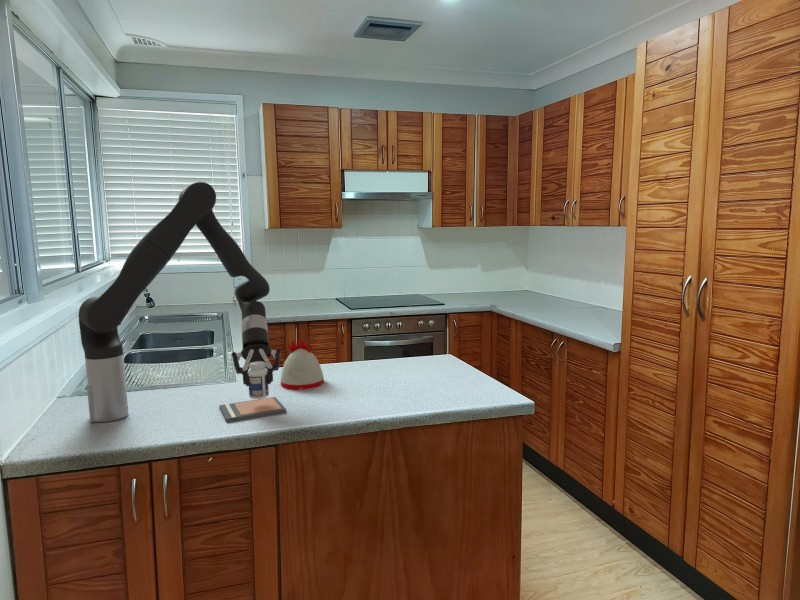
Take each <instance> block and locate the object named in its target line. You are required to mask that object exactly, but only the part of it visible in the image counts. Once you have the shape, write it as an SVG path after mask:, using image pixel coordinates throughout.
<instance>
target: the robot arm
mask: <svg viewBox="0 0 800 600" xmlns="http://www.w3.org/2000/svg"><path fill="white" fill-rule="evenodd" d="M216 194H217V193H216V191H215V189H214V187H213V186H212V185H210V183H207V182H205V181H195V182H192V183H189V184H187V186H186V187H184V188H183V189H182V190H181V191H180V193H179V195H178V200H177V202H176V204H175V205H174V207H173V208H172V209H171V211H169V213H168V214H167V215H166V216H165V217H164V218H162V219H161V220H160V221H159V222H157V224H155V225H154V226H153V227H152V228H150V230H149V231H148V232H147V233H146V234H144V236H143V237H142V238H141V239H140V240H139V241H138V243H137V244H136V245H135V247H133V249H132V250H131V252H130V253H129V254H128V256H127V258H126V260H125V262H124V263H123V265H122V268H121V270H120V272H119V274H118V276H117V278H115V280H114V282H112V284H111V285H110V286H109V287H108V288H107V289H106V290H104V292H103V293H102V294H101V295H100V296H99V295H98V296H97V295H96V296H91V297H88V298H87V299H85V300H84V301H83V302H82V304H80V306H79V310H78V323H79V324H78V325H79V332H80V334H79V335H80V340H81V341H80V343H81V345H82V348H83V352H84V361H85V370H86V371H85V372H86V382H87V383H86V384H87V388H86V392H87V402H88V413H89V422H90V423H106V422H107V423H108V422H115V421H117V420H120V419H123V418H126V417H127V416H129V405H128V404H129V403H128V392H127V381H126V369H125V360H124V347H123V343H122V341H121V339H120V336H119V330H118V327H119V326H120V325H121V324H122V322H123V320H124V319H125V318H126V316H127V315H128V313H129V312H130V311H131V308H133V306H134V304H135V302H136V300H138V298H139V297H140V296H141V294H142V293H143V292H144V291H145V290H146V289H147V287H148V286H150V284H151V283H152V282H153V280H154V279H156V277H157V276H158V275H159V273H161V271H162V270H163V269H164V268H165V267H166V265H167V264H168V263H169V262H170V261H171V259H172V258H173V257H174V255H175V254H176V253H177V251H178V250H179V248H180V247H181V245H182V244H183V243H184V241H185V239H186V238H187V236H188V235H189V233H190V232H191V231H192V230H193V229H194V227H195V226H196V227H197V228H198V230H199V231H200V233H201V234H202V235H203V236H204V238H205V240H207V242H208V243H209V245H210V247H211V248H212V249H213V251H214V252H215V254H216V255H217V257H218V259H219V261H220V263H221V264H222V266H223V267H224V269H225V271H226V272H227V274H228V275H229V277H231V278H237V277H238V278H239V277H245V278H246V279H247V280H244V281H243V282H241V283H239V284H238V285H237V286H235V289H234V295H235V298H236V301H237V303H238V306H239V308H240V311H241V340H242V341H241V343H242V345H241V346H242V350H241V351H240V352H235V351H234V352H231V360H232V363H233V366H234V370H235V374H237V375H240V374H241V375H242V383H243V385H244V386H246V387H249V385H248V372H249V371H250V370H251V369H250V363H251V362H256V361H263V362H264V364H265V367H264V369H266V370H267V373H268V385H271V384H272V383H273V382H274V374H273V373H274V372H275V371H276V372H277V371H278V370H279V368H280V361H281V360H280V359H281V355H282V354H281V351H282V349H280V348H276V349H272V348H271V347H270V340H269V339H270V338H269V328H268V322H267V316H266V314H267V312H266V307H265V305H264V304H263V303H262V302H261V301H259V300H261V299H263V298H266V297H267V296H268V295H269V293H270V284H269V283H268V280H267V279H266V278H265V277H264V276H263V275H262V274H261V273H260V272H258V271H257V270H256V268H254V266H252V264H251V263H250V262H249V260H248V259H247V257H246V255H245V254H244V251H242V249H241V247H240V245H238V243H237V241H235V240H234V238H233V237H232V236H231V235H230V234H229V233H228V231H227V230H226V229H225V228H224V227H223V226H222V224H221V223H220V222H219V220H218V219H217V217H216V215H215V213H214V211H213V209H214V207H215V205H216V203H217V195H216ZM270 356H272V357H273V358H274V364H271V362H270V359H269V358H270ZM241 358H242V359H244V360H245V361H244V364H243V367H241V366H240V363H239V361H240V360H241Z"/></svg>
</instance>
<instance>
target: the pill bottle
mask: <svg viewBox="0 0 800 600" xmlns="http://www.w3.org/2000/svg"><path fill="white" fill-rule="evenodd" d="M248 385H249V386H248V393H249V394H248V396H249V398H251V400H258V399H265V398H268V396H270V395H269V390H270V389H269V384H268V373H267V369H266V368H265V364H264V362H263V361H256V362H251V363H250V369H249V371H248Z"/></svg>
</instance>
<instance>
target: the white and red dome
mask: <svg viewBox="0 0 800 600" xmlns="http://www.w3.org/2000/svg"><path fill="white" fill-rule="evenodd" d="M287 346H288V348H289V350H290V354H289V355H288V357H287V358H286V359H285V360H284V361H283V367H282V370H281V373H280V374H281V375H280V387H281V386H282V388H283V389H285V388H286V389H285V390H290V389H292V390H293V391H302V390H310V389H311V390H312V389H315V388H319V387H321V386H323V385H324V383H325V381H324V373H323V370H322V367H321V364H320V362H319V360H318V358H317V357H316V356H315V354H314V353H312V350H313V348H314V347H313V345H312V346H311V347H310V348H309V341H307V343H306V344H305V340H304V338H302V339H301V343H300V339H299V338H298V339H297V341H296V343H295V341H294V339H291V344H289V343H288V342H287Z"/></svg>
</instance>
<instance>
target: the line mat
mask: <svg viewBox="0 0 800 600" xmlns="http://www.w3.org/2000/svg"><path fill="white" fill-rule="evenodd" d="M218 405H219V407H218V408H219V411H220V412H221V415H222V416H223V418H224V421H225V422H226V423H231V422H238V421H242V420H243V421H244V420H249V419H250V420H251V419H256V418H261V417H268V416H274V415H275V416H276V415H281V414H287V408H286V407H285V406H284V405H283V404H282V403H281V401H280V400H279V399H278V398H277V397H276V396H272V397H265V398H262V399H251V400H245V401H239V402H234V403H233V402H232V403H225V404H224V403H223V404H218Z"/></svg>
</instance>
